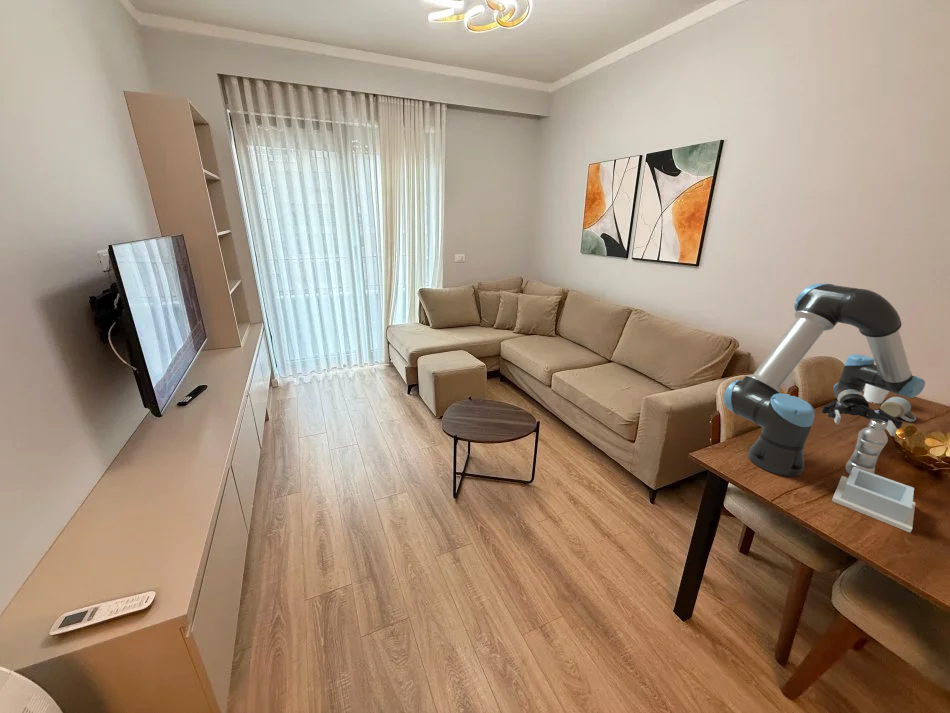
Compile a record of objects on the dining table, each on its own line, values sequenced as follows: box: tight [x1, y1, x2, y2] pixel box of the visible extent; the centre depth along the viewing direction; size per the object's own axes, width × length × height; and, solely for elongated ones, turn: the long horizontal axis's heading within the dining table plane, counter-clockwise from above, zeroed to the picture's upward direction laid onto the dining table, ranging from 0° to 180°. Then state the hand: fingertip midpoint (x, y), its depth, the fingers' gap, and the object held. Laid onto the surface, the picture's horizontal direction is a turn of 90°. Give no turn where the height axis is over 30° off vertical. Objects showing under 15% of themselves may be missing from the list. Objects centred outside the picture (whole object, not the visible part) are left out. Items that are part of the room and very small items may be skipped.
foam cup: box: [863, 384, 890, 405], centre depth 176 cm, size 10×9×13 cm
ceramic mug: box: [879, 396, 917, 423], centre depth 162 cm, size 11×8×8 cm
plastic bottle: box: [845, 419, 889, 475], centre depth 121 cm, size 6×7×20 cm
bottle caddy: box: [831, 467, 916, 533], centre depth 112 cm, size 16×16×6 cm
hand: (865, 426), depth 128 cm, fingers open, 13 cm apart
